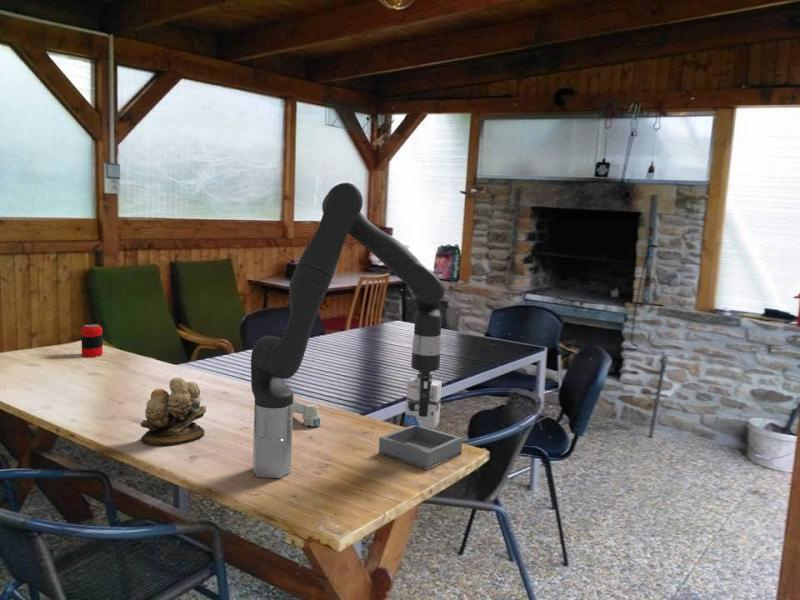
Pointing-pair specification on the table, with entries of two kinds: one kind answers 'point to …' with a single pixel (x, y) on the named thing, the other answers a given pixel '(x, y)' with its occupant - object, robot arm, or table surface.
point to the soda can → (92, 340)
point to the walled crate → (420, 446)
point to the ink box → (413, 405)
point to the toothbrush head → (307, 413)
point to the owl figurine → (173, 415)
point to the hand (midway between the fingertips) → (422, 412)
